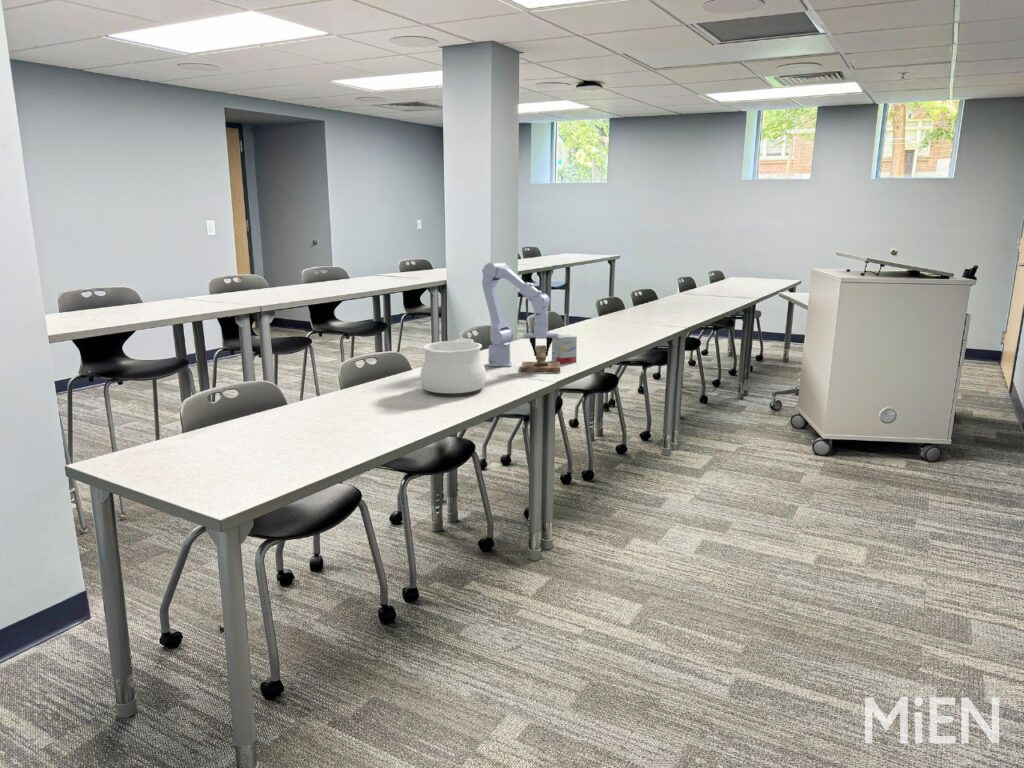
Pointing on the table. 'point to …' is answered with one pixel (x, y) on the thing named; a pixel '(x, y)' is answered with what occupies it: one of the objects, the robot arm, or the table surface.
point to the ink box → (564, 348)
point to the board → (540, 367)
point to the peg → (540, 353)
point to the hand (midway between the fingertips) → (541, 355)
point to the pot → (453, 368)
